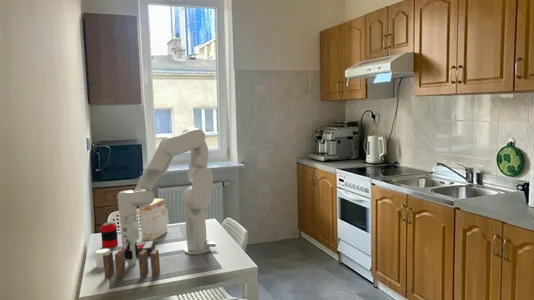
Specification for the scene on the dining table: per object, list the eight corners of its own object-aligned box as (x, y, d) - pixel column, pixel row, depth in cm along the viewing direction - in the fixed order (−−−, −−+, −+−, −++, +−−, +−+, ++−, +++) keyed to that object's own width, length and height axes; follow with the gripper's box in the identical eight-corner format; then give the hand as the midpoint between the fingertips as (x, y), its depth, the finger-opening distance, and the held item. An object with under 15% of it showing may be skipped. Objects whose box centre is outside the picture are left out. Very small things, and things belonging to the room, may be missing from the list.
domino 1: (114, 273, 179) (112, 250, 178) (109, 278, 174) (107, 255, 173) (109, 273, 179) (107, 251, 178) (104, 278, 174) (102, 255, 173)
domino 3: (136, 261, 192) (134, 240, 190) (132, 265, 187) (130, 244, 186) (132, 261, 192) (130, 240, 191) (128, 265, 187) (126, 244, 186)
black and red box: (123, 243, 208) (154, 239, 210) (124, 251, 209) (155, 247, 211) (119, 250, 198) (151, 246, 200) (120, 259, 198) (152, 255, 200)
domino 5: (160, 271, 178) (158, 249, 177) (156, 276, 173) (154, 253, 172) (155, 272, 178) (153, 249, 177) (151, 276, 173) (150, 253, 172)
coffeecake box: (157, 231, 238) (154, 198, 236) (167, 232, 236) (165, 198, 234) (141, 239, 224) (138, 204, 222) (152, 240, 222) (150, 204, 220)
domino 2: (125, 272, 179) (123, 250, 178) (121, 277, 174) (119, 254, 173) (121, 273, 179) (119, 250, 178) (116, 277, 174) (114, 254, 173)
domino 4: (148, 272, 178) (146, 249, 177) (144, 277, 173) (143, 253, 172) (144, 272, 178) (142, 249, 177) (140, 277, 173) (138, 254, 172)
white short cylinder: (94, 269, 184) (92, 254, 184) (96, 264, 191) (94, 249, 190) (110, 267, 186) (109, 252, 186) (111, 261, 193) (110, 247, 192)
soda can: (104, 249, 210) (102, 226, 209) (100, 246, 217) (98, 223, 215) (119, 246, 215) (118, 223, 214) (115, 242, 221) (113, 220, 220)
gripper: (129, 223, 178) (133, 263, 180) (142, 212, 195) (145, 249, 197) (112, 223, 178) (116, 264, 180) (127, 213, 196) (130, 250, 197)
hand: (131, 256), depth 189 cm, fingers open, 5 cm apart
